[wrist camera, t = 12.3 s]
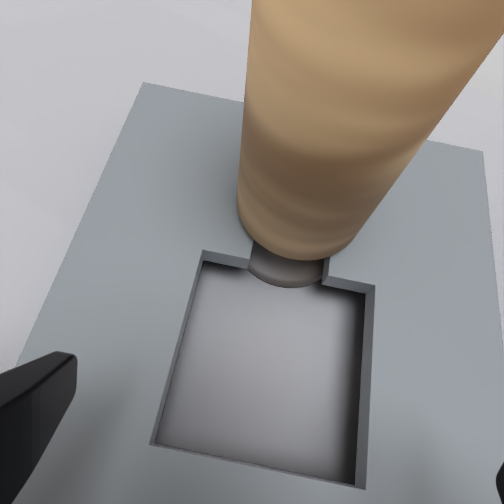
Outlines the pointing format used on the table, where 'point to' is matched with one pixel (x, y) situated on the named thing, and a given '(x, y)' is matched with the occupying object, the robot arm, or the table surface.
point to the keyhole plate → (238, 255)
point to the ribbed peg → (343, 115)
